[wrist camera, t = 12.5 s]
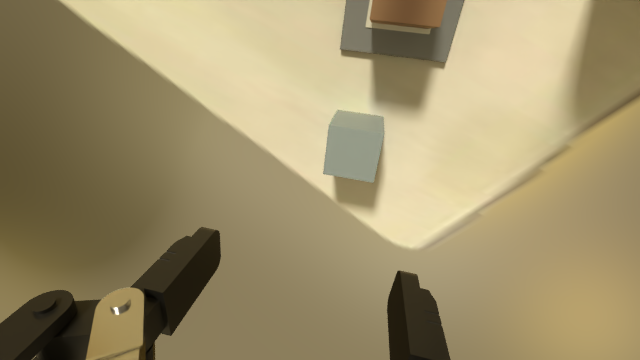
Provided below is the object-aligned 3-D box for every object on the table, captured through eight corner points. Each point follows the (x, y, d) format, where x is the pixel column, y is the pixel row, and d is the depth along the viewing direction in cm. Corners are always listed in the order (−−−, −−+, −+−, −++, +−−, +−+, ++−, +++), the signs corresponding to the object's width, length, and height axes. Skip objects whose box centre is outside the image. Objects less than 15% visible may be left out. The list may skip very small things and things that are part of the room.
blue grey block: (383, 116, 30) (384, 133, 25) (374, 158, 32) (373, 182, 27) (337, 109, 30) (328, 125, 25) (332, 151, 33) (323, 174, 28)
